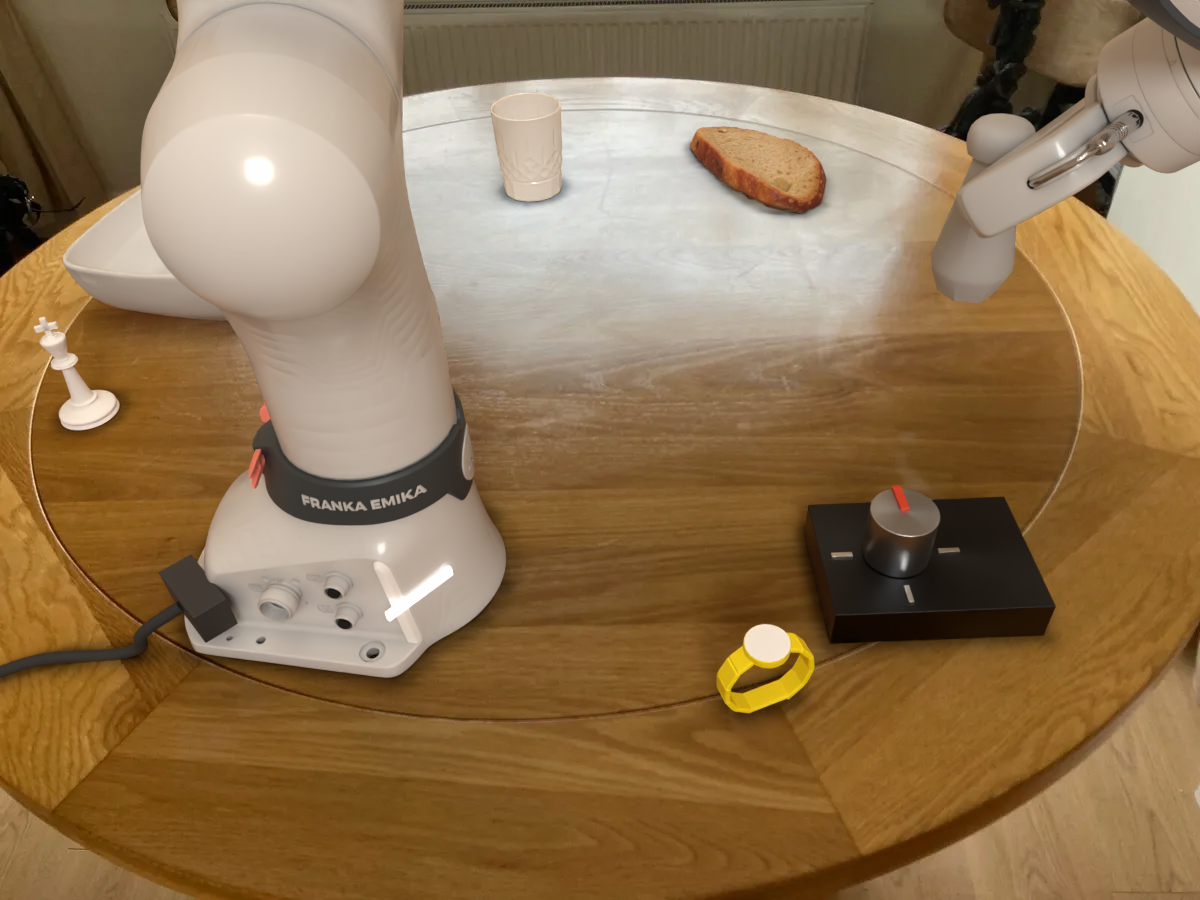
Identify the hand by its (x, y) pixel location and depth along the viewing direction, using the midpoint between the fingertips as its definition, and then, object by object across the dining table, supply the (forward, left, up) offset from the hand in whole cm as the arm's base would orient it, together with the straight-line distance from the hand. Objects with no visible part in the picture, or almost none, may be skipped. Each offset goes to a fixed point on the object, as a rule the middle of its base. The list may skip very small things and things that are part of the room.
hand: (978, 196), depth 68 cm
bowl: (-68, +25, -19) cm, 75 cm away
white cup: (-35, +43, -19) cm, 59 cm away
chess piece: (-73, +4, -19) cm, 76 cm away
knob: (-8, -19, -16) cm, 26 cm away
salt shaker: (0, 0, -8) cm, 8 cm away
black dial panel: (-6, -19, -19) cm, 28 cm away
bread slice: (-9, +44, -19) cm, 49 cm away
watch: (-18, -28, -19) cm, 38 cm away
